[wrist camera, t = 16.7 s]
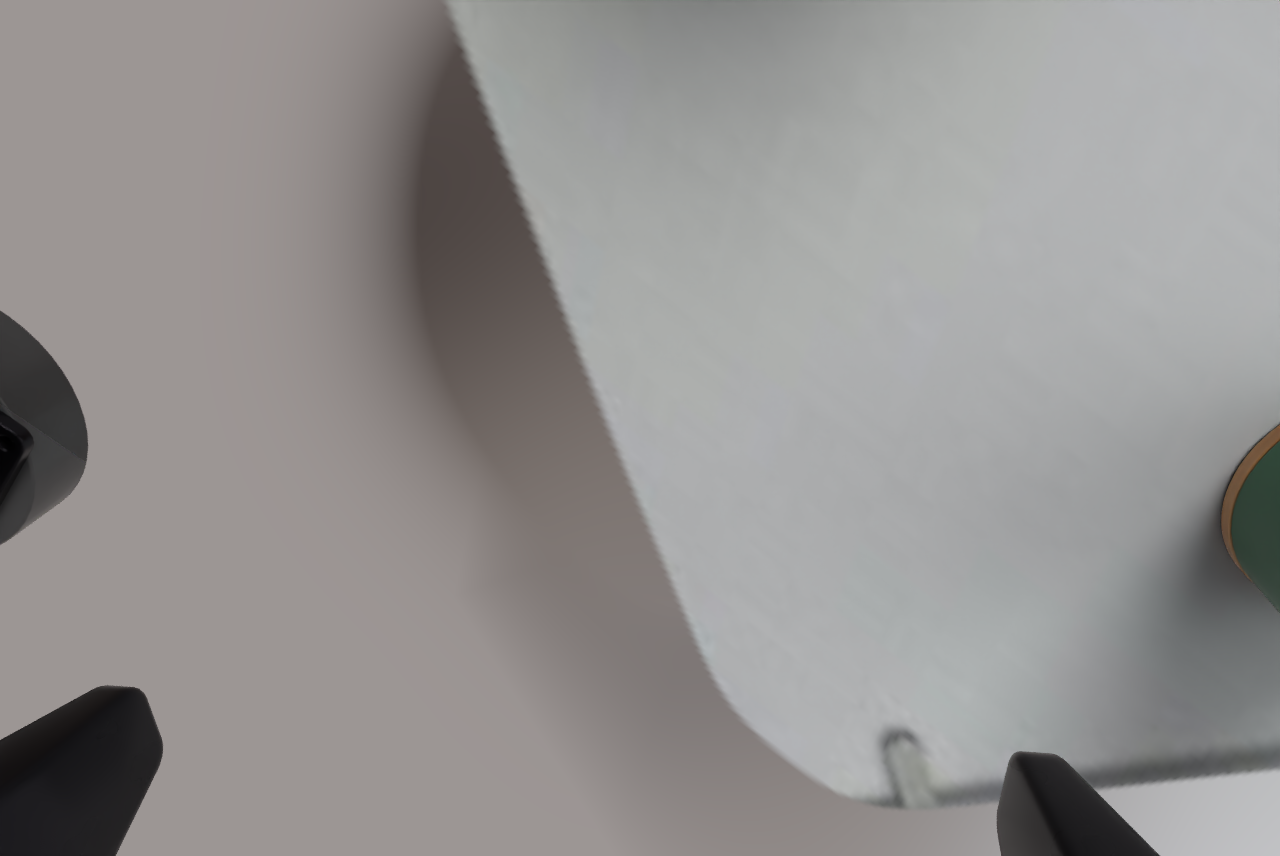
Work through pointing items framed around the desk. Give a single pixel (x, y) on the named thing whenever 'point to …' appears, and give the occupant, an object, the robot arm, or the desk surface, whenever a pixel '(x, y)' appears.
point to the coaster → (1237, 484)
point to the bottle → (1260, 526)
